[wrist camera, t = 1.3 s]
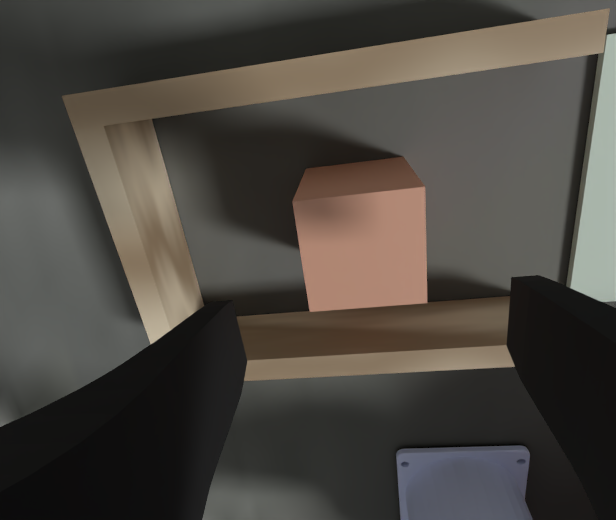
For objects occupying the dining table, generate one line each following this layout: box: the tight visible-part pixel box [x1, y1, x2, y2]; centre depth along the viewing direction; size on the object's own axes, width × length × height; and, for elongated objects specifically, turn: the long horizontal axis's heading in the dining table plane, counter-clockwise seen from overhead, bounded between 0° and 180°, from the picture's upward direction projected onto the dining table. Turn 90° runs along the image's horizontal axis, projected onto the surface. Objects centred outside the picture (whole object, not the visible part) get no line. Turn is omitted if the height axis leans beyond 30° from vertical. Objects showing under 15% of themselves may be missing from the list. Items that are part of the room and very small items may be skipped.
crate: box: [62, 8, 610, 381], centre depth 18 cm, size 13×18×4 cm
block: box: [292, 157, 427, 312], centre depth 17 cm, size 4×4×6 cm
